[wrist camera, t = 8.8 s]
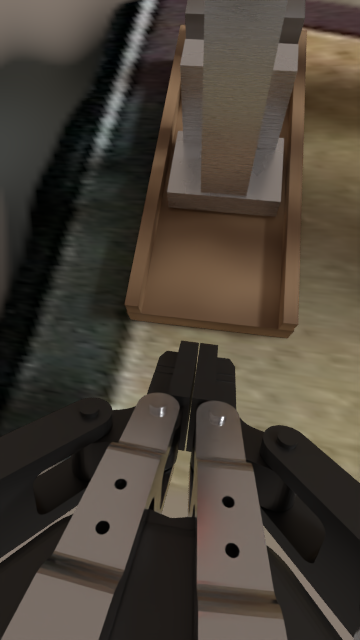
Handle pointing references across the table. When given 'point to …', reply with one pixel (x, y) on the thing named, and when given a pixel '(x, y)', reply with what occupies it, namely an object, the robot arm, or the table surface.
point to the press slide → (234, 110)
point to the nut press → (222, 227)
